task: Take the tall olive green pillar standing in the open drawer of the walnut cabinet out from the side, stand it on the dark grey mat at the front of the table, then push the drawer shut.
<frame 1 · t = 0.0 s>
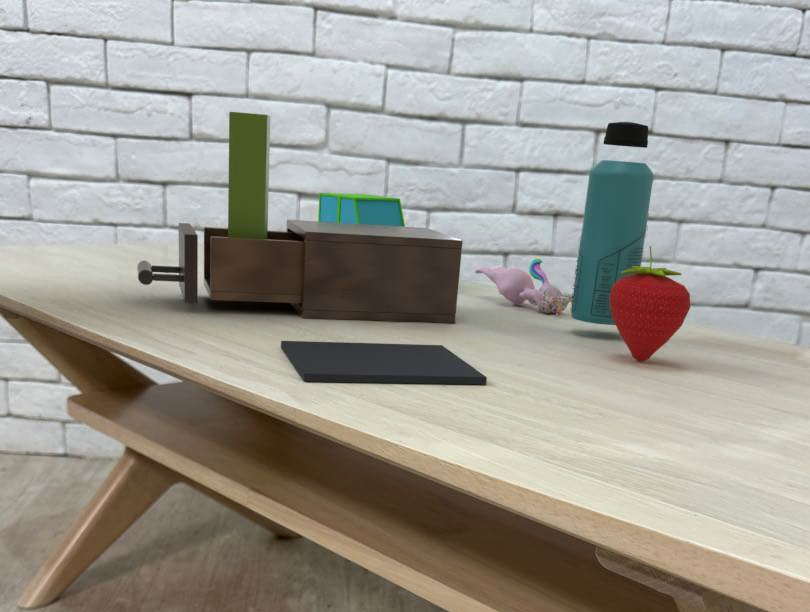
beverage bottle: (598, 336, 102), on the table
tall olive green pillar: (247, 285, 101), point 2 cm above the table, touching drawer
mat: (378, 365, 79), on the table
blue green-edged box: (375, 283, 126), on the table
pink elongated figure: (520, 307, 116), on the table
cabinet: (366, 309, 105), on the table
drawer: (234, 263, 100), point 4 cm above the table, slide at 10.0 cm, touching tall olive green pillar
strawberry: (639, 363, 89), on the table
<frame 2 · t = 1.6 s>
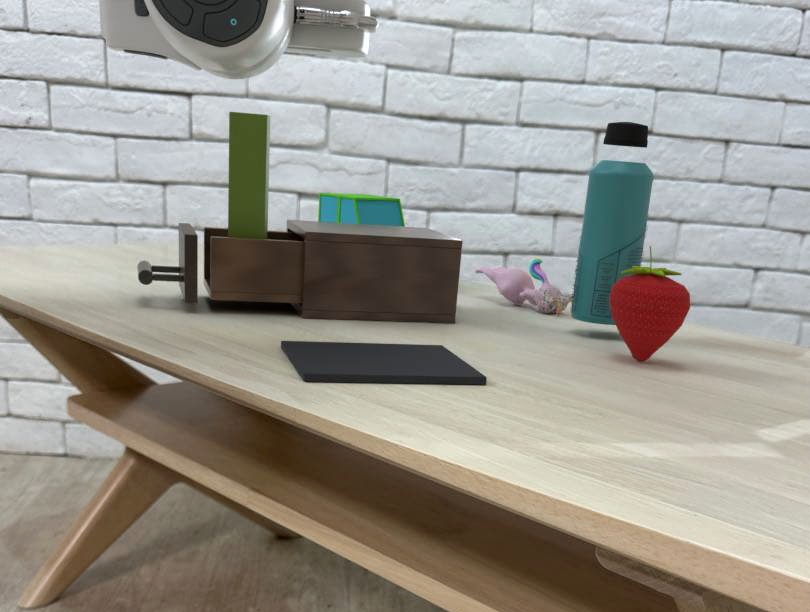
hand: (243, 29, 82), 24 cm above the table, tool horizontal, fingers open, 8 cm apart
nothing on the table moved.
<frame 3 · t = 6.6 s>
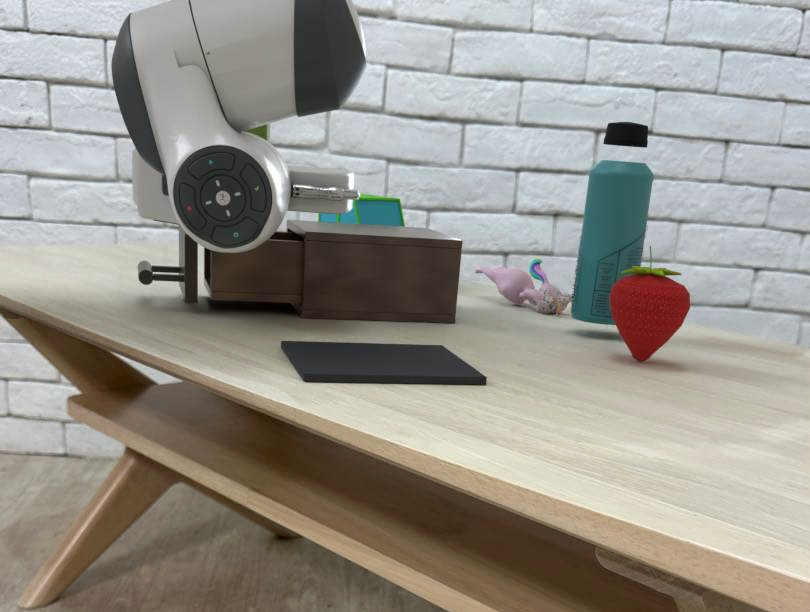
hand: (249, 180, 98), 12 cm above the table, tool horizontal, fingers closed on tall olive green pillar, 3 cm apart
tall olive green pillar: (247, 285, 101), point 2 cm above the table, touching drawer, gripper
everything else where it was.
when the fingers open (11 cm above the table, at t = 17.2 s): tall olive green pillar stays where it is, resting on mat.
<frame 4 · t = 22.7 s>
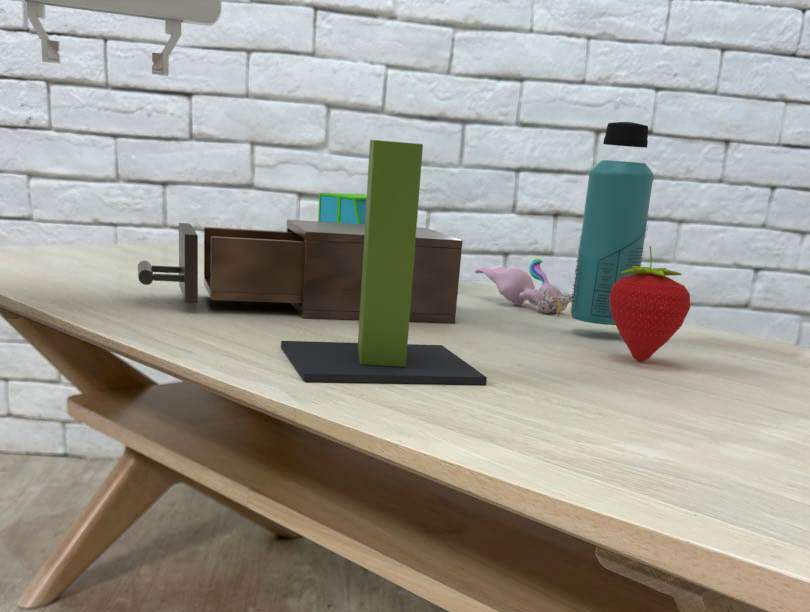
hand: (106, 69, 90), 21 cm above the table, tool pointing down, fingers open, 8 cm apart
tall olive green pillar: (380, 358, 79), point 1 cm above the table, touching mat
drawer: (234, 263, 100), point 4 cm above the table, slide at 10.0 cm
everything else where it was.
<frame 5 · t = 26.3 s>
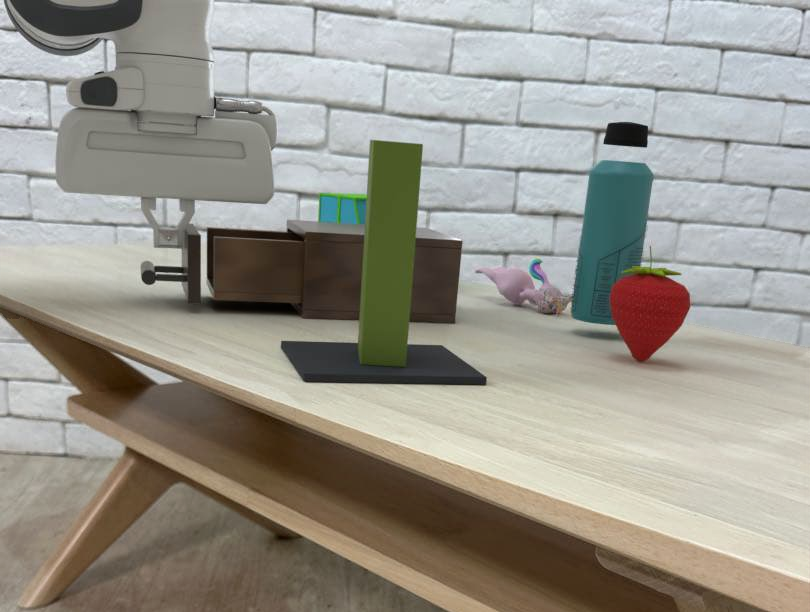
hand: (168, 247, 97), 5 cm above the table, tool pointing down, fingers closed
drawer: (237, 264, 100), point 4 cm above the table, slide at 9.7 cm, touching gripper
everything else where it was.
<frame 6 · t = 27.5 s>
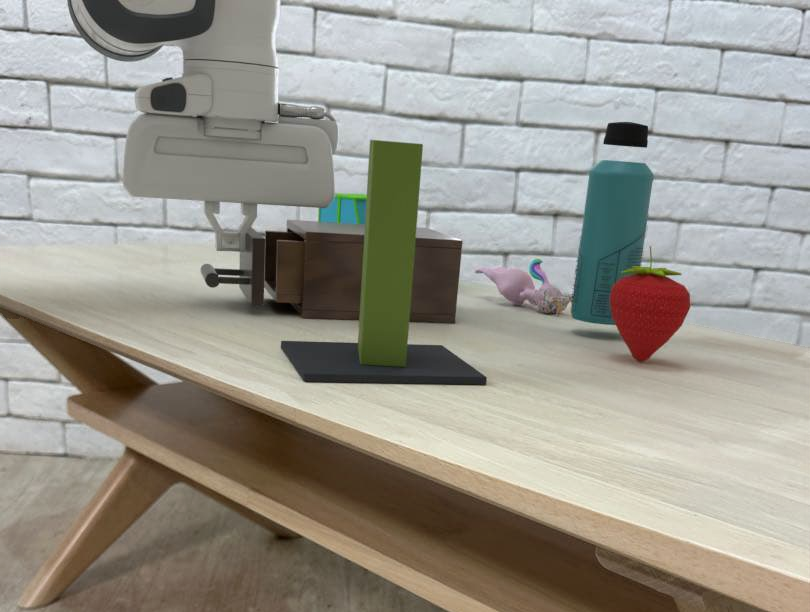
hand: (230, 250, 99), 5 cm above the table, tool pointing down, fingers closed
drawer: (296, 266, 101), point 4 cm above the table, slide at 3.7 cm, touching gripper
everything else where it was.
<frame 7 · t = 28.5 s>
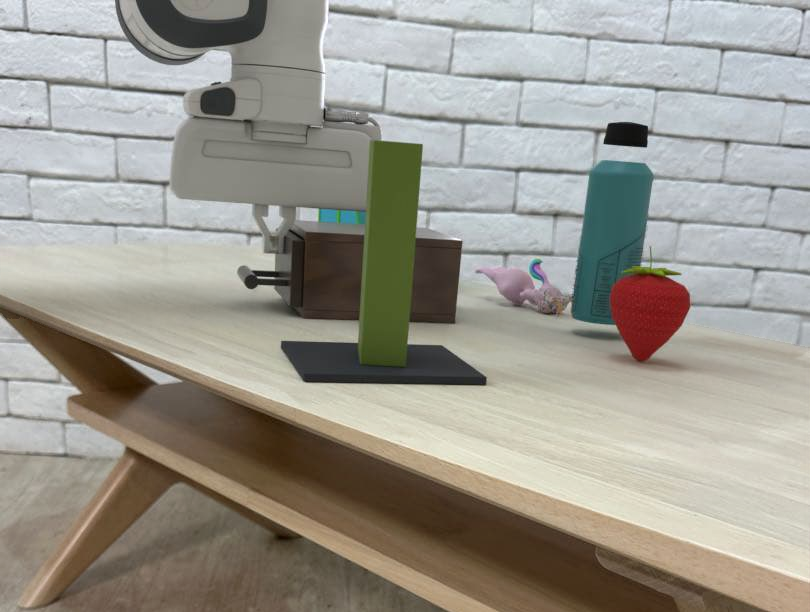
hand: (272, 253, 100), 5 cm above the table, tool pointing down, fingers closed
drawer: (332, 268, 102), point 4 cm above the table, slide at 0.0 cm, touching cabinet, gripper
everything else where it was.
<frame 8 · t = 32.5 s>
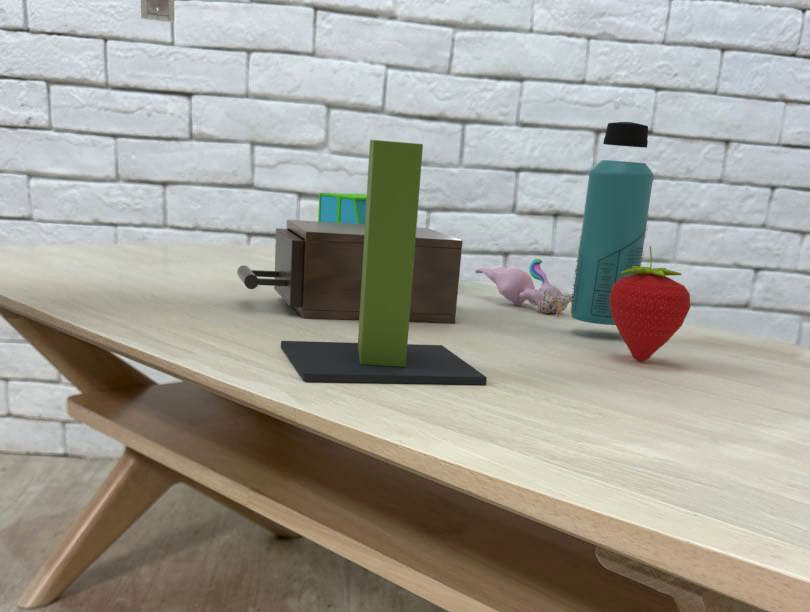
hand: (157, 20, 90), 25 cm above the table, tool pointing down, fingers closed
drawer: (332, 268, 102), point 4 cm above the table, slide at 0.0 cm
everything else where it was.
at the end: tall olive green pillar inside the target area on the mat (0.1 cm from its centre), point 0.6 cm above the mat's base; tall olive green pillar tilted 0°; drawer slide at 0.0 cm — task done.
